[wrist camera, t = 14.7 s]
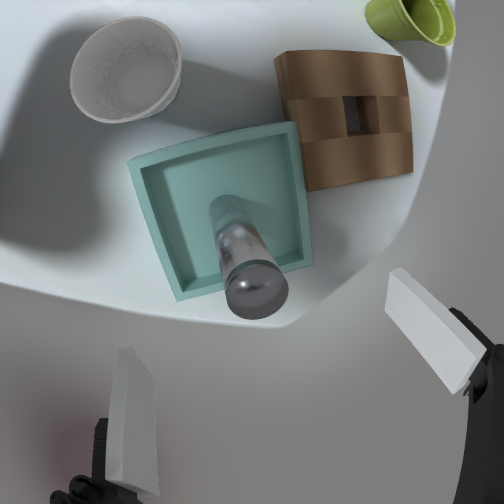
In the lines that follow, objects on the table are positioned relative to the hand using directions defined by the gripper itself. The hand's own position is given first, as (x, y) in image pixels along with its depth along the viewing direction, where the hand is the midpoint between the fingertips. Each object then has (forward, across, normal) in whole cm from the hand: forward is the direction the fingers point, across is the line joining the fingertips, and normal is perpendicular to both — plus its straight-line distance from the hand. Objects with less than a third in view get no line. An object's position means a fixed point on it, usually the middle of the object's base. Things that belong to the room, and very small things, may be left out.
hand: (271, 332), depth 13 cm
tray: (+19, 0, 0) cm, 19 cm away
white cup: (+20, -5, +15) cm, 25 cm away
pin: (+18, 0, 0) cm, 18 cm away
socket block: (+19, +15, +8) cm, 26 cm away
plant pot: (+19, +24, +21) cm, 37 cm away
